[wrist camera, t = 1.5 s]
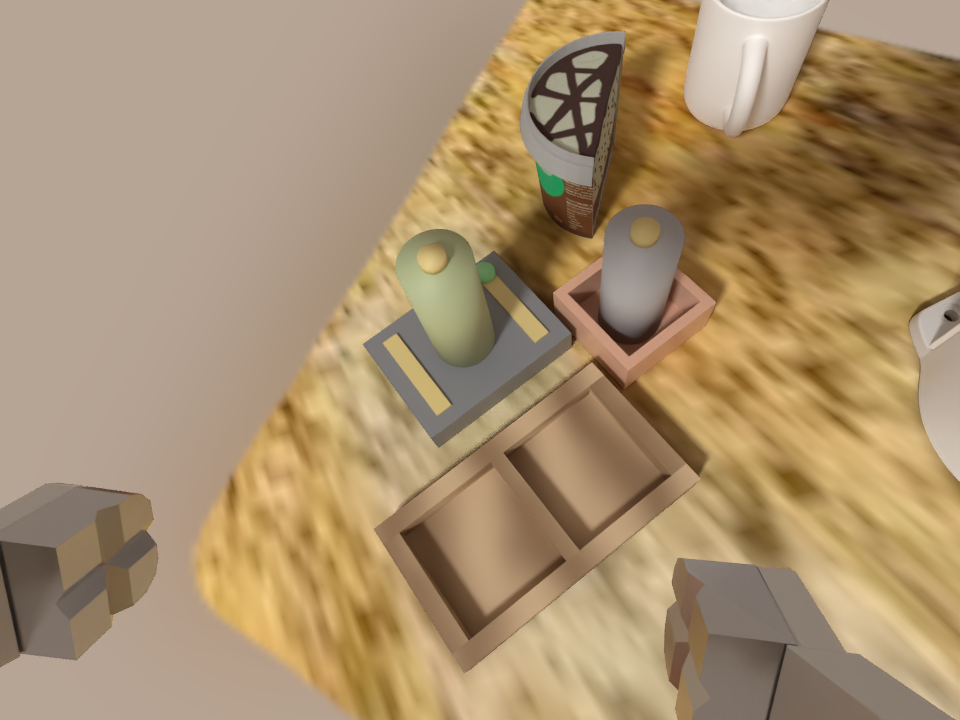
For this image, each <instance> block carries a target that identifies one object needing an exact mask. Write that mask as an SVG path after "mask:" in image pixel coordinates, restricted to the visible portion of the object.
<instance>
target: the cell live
mask: <svg viewBox="0 0 960 720" xmlns="http://www.w3.org/2000/svg"><path fill="white" fill-rule="evenodd" d="M395 270H396V275H397V278H398V280H399V282H400V284H401V286H402V288H403V290H404V292H405V294H406V295H407V297H408V299H409V301H410V303H411V305H412V307H413V309H414V311H415V313H416V314H417V316H418V318H419V320H420V322H421V324H422V326H423V328H424V330H425V331H426V333H427V335H428V337H429V339H430V341H431V343H432V345H433V347H434V349H435V350H436V352H437V354H438V356H439V357H440V358H441V359H442V360H443V361H444V362H445V363H447V364H449V365H451V366H454V367H461V368H464V367H471V366H474V365H476V364H478V363H480V362H482V361H483V360H484V359H486V358H487V356H488V355H489V354H490V353H491V351H492V349H493V347H494V344H495V331H494V327H493V324H492V320H491V316H490V313H489V309H488V306H487V302H486V299H485V295H484V291H483V288H482V284H481V281H480V277H479V274H478V270H477V266H476V263H475V259H474V256H473V252H472V249H471V247H470V245H469V243H468V242H467V241H466V240H465V239H464V238H463V237H462V236H461V235H459V234H457V233H455V232H453V231H450V230H444V229H434V230H428V231H425V232H422V233H420V234H418V235H416V236H414V237H413V238H411V239H410V240H409V241H408V242H407V243H406V244H405V245H404V246H403V247H402V249H401V250H400V252H399V254H398V256H397V260H396V266H395Z"/></svg>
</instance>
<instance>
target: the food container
mask: <svg viewBox="0 0 960 720" xmlns="http://www.w3.org/2000/svg"><path fill="white" fill-rule="evenodd" d="M624 51H625V31H613V32H603V33H597V34H593V35H588V36H585V37H582V38H579V39H576V40H574V41H572V42H570V43H568V44H565V45H564V46H562V47H560V48H559V49H557V50H556V51H554V52H553V53H552V54H550V55H549V56H548V57H547V58H546V59H545V60H544V61H543V62H542V63H541V64H540V65H539V66H538V68H537V69H536V71H535V72H534V74H533V75H532V78H531V80H530V82H529V84H528V86H527V89H526V91H525V94H524V99H523V104H522V110H521V116H520V131H521V135H522V139H523V142H524V144H525V146H526V149H527V150H528V152H529V153H530V154H531V156H532V157H533V159H534V160H535V161H536V166H537V171H538V177H539V182H540V187H541V192H542V198H543V202H544V206H545V208H546V210H547V212H548V214H549V215H550V217H551V218H552V219H553V220H554V221H555V222H556V223H557V224H558V225H559V226H561V227H562V228H564V229H565V230H567V231H569V232H571V233H573V234H576V235H579V236H582V237H587V238H592V237H593V233H594V228H595V224H596V220H597V216H598V211H599V207H600V203H601V199H602V194H603V190H604V186H605V182H606V177H607V173H608V169H609V165H610V160H611V156H612V152H613V148H614V139H615V129H616V120H617V110H618V100H619V91H620V81H621V71H622V61H623V53H624Z"/></svg>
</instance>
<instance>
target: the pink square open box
mask: <svg viewBox="0 0 960 720" xmlns="http://www.w3.org/2000/svg"><path fill="white" fill-rule="evenodd" d="M602 262H603V256H602V257H601V258H599V259H598V260H597V261H595V262H594V263H593V264H591V265H590V266H589V267H587V268H586V269H585V270H583V271H582V272H580V273H579V274H578V275H576V276H575V277H574V278H572V279H571V280H570V281H568V282H567V283H566V284H564V285H563V286H561V287H560V288H559V289H557V290H556V291H555V292H553V298H554V314H555V316H556V317H557V318H558V319H559V320H560V321H561V322H562V324H563V325H564V326H565V327H566V328H567V329H568V330H569V331H570V332H571V334H572V335H573V336H574V337H575V338H576V339H577V340H578V341H579V342H580V343H581V344H582V345H583V346H584V348H585V349H586V350H587V351H588V352H589V353H590V354H591V355H592V356H593V357H594V358H595V359H596V360H597V361H598V362H599V363H600V365H601V366H602V367H603V368H604V369H605V370H606V371H607V372H608V373H609V374H610V375H611V376H612V377H613V378H614V379H615V380H616V382H617V383H618V384H619V385H620V386H621V387H622V388H623V389H625V388H626V387H628V386H629V385H630V384H632V383H633V382H634V381H635V380H637V379H638V378H639V377H641V376H642V375H643V374H644V373H646V372H647V371H648V370H650V369H651V368H652V367H653V366H655V365H656V364H657V363H659V362H660V361H661V360H662V359H664V358H665V357H666V356H668V355H669V354H670V353H671V352H673V351H674V350H675V349H677V348H678V347H679V346H680V345H682V344H683V343H684V342H686V341H687V340H688V339H689V338H691V337H692V336H693V335H695V334H696V333H697V332H698V331H700V330H701V329H702V328H704V327H705V326H706V324H707V322H708V320H709V317H710V315H711V313H712V311H713V309H714V307H715V304H716V302H715V301H714V300H713V299H712V298H711V297H710V296H709V295H708V294H706V293H705V292H704V291H703V290H702V289H701V288H700V287H699V286H698V285H696V284H695V283H694V282H693V281H692V280H691V279H690V278H689V277H687V276H686V275H685V274H684V273H683V272H682V271H681V270H680V269H679V268H677V269H676V272H675V276H674V279H673V282H672V285H671V289H670V292H669V295H668V299H667V302H666V305H665V309H664V312H663V315H662V318H661V322H660V325H659V328H658V330H657V331H656V333H655V334H654V335H653V336H652V337H651V338H650V339H648V340H647V341H645V342H642V343H639V344H633V345H626V344H621V343H618V342H615V341H613V340H612V339H611V338H610V337H609V335H608V334H607V333H606V332H605V331H604V330H603V329H602V328H601V327H600V325H599V322H598V309H599V297H600V285H601V274H602Z"/></svg>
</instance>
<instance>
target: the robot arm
mask: <svg viewBox="0 0 960 720" xmlns="http://www.w3.org/2000/svg"><path fill="white" fill-rule="evenodd" d="M944 315H946V316H949V317H950V318H951V319H952V322H951V321H948V320H947V319H946V318H945V317H944ZM909 329H910V334H911V337H912V341H913V343H914V346H915V348H916V351H917V353H918V356H919V358H920V365H921V371H920V381H919V396H918V397H919V407H920V413H921V418H922V421H923V425H924V427H925V430H926V433H927V435H928V437H929V440H930V442H931V444H932V446H933V447H934V449H935V451H936V452H937V454H938V455H939V457H940V458H941V460H942V461H943V463H944V464H945V465H946V467H947V468H948V469H949V470H950V472H951V473H952V474H953V475H954V476H955V477H956V478H957V479H958V480H959V481H960V291H959V292H957V293H955V294H953V295H951V296H949V297H947V298H945V299H943V300H941V301H939V302H937V303H935V304H933V305H931V306H929V307H927V308H926V309H924V310H922V311H921V312H919V313H917V314H916V315H914V316H913V317H912V319H911V320H910V324H909ZM153 520H154V519H153V513H152V507H151V502H150V500H149V499H147V498H146V497H145V496H144V495H142V494H138V493H131V492H123V491H117V490H109V489H103V488H95V487H88V486H86V487H84V486H81V485H74V484H64V483H49V484H44V485H43V486H41V487H39V488H37V489H35V490H34V491H32V492H30V493H28V494H27V495H25V496H23V497H21V498H19V499H17V500H16V501H14V502H12V503H10V504H9V505H7V506H5V507H3V508H1V509H0V667H2V666H3V665H5V664H7V663H9V662H11V661H13V660H15V659H16V658H18V657H19V656H20V654H29V655H37V656H45V657H53V658H62V659H70V660H77V659H78V658H80V656H82V655H83V654H84V653H85V652H86V651H87V650H88V649H89V648H90V647H91V646H92V645H93V644H94V643H95V642H96V641H97V640H98V639H99V638H100V637H101V636H102V635H103V634H105V633H106V631H107V630H109V629H110V628H111V626H112V621H113V614H116V613H118V612H120V611H122V610H124V609H127V608H129V607H131V606H133V605H134V604H135V603H136V602H137V601H138V600H139V599H140V598H141V597H142V596H143V595H144V594H145V593H146V592H147V591H148V588H149V587H150V584H151V583H152V581H153V579H154V577H155V575H156V570H157V563H158V551H157V544H156V543H155V541H154V540H153V539H152V538H151V536H150V535H149V534H148V532H147V531H146V530H147V529H148V527H149V526H150V524H151V523H152V521H153ZM672 586H673V589H674V593H675V597H676V600H677V601H676V602H675V603H674V604H673V605H672V606H671V607H669V608H668V609H667V616H666V623H665V639H664V652H665V661H666V668H667V673H668V678H669V681H670V682H671V683H672V684H673V685H674V686H675V687H676V688H677V690H678V695H677V701H676V707H675V710H676V714H677V719H678V720H955V719H953V718H952V717H950V716H949V715H947V714H946V713H945V712H943V711H942V710H940V709H939V708H937V707H936V706H934V705H933V704H931V703H930V702H928V701H927V700H925V699H924V698H923V697H921V696H920V695H918V694H917V693H915V692H914V691H912V690H911V689H909V688H908V687H906V686H905V685H904V684H902V683H901V682H899V681H898V680H896V679H895V678H893V677H892V676H890V675H889V674H887V673H886V672H884V671H883V670H882V669H880V668H879V667H877V666H876V665H874V664H873V663H871V662H870V661H868V660H867V659H865V658H864V657H863V656H861V655H860V654H852V653H847V652H846V651H845V649H844V648H843V646H842V644H841V643H840V641H839V640H838V638H837V636H836V635H835V633H834V632H833V630H832V629H831V627H830V625H829V624H828V622H827V621H826V619H825V617H824V616H823V614H822V613H821V611H820V610H819V608H818V606H817V605H816V603H815V602H814V600H813V598H812V597H811V595H810V594H809V592H808V590H807V589H806V587H805V586H804V584H803V583H802V581H801V579H800V578H799V576H798V575H797V573H796V572H795V571H794V570H792V569H791V568H789V567H777V566H765V565H753V564H752V565H749V564H738V563H727V562H717V561H706V560H695V559H685V558H678V559H677V562H676V565H675V567H674V573H673V578H672Z"/></svg>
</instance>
